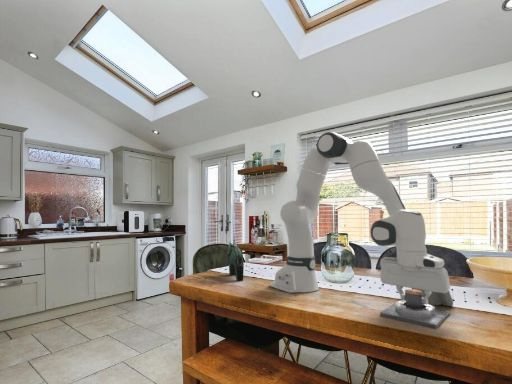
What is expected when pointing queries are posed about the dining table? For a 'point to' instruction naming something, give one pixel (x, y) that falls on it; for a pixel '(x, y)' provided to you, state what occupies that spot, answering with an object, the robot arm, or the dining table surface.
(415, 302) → the dark grey cylinder
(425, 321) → the flat square base plate
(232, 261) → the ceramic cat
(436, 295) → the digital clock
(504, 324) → the dining table surface
